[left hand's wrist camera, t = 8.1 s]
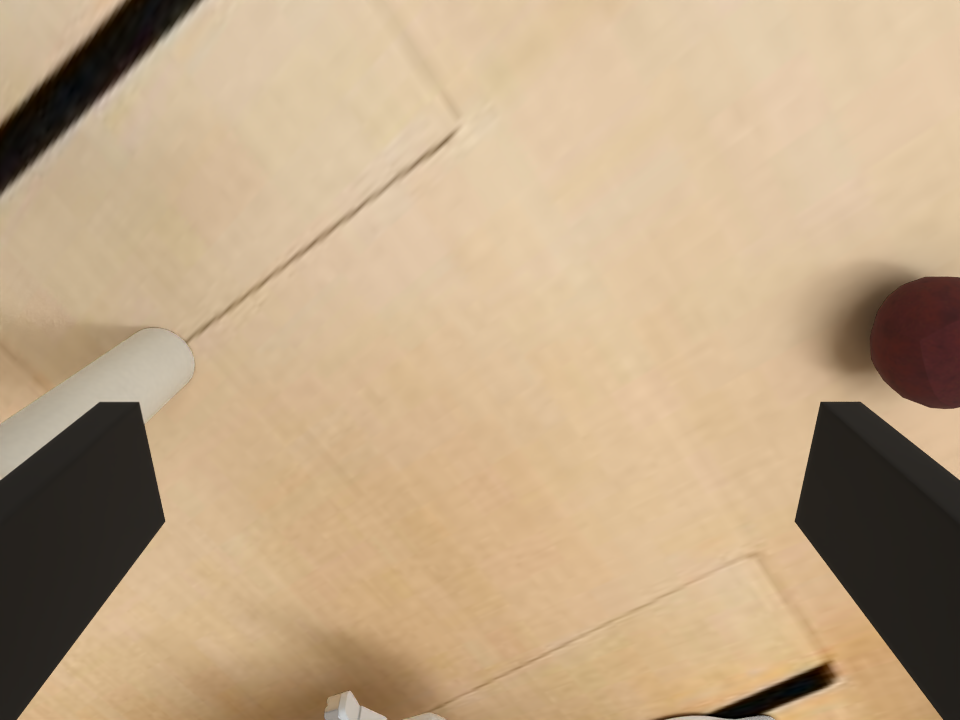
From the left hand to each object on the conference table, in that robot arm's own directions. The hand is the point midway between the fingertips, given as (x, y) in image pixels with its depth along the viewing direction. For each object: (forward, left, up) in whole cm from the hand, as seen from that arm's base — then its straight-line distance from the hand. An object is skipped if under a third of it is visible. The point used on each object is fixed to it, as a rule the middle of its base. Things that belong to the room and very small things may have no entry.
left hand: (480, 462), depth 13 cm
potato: (+6, +27, -28) cm, 39 cm away
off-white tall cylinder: (+9, -21, -28) cm, 36 cm away
